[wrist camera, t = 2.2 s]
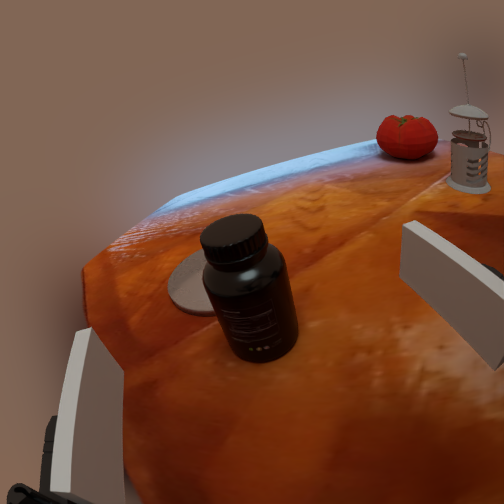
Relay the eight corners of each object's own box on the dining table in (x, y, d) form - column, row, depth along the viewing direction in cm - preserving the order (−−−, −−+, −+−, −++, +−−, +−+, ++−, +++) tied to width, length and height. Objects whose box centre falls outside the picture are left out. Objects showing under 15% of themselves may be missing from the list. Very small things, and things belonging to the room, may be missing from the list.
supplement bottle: (231, 317, 32) (195, 216, 25) (295, 307, 31) (274, 200, 25) (227, 369, 26) (177, 261, 20) (303, 359, 25) (280, 241, 19)
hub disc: (259, 236, 45) (257, 229, 44) (293, 290, 33) (292, 281, 32) (170, 266, 44) (167, 260, 43) (173, 331, 32) (169, 323, 31)
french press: (436, 180, 49) (425, 50, 36) (469, 170, 50) (463, 55, 37) (472, 198, 40) (466, 51, 28) (503, 186, 41) (501, 58, 28)
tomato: (447, 155, 59) (446, 116, 54) (412, 170, 55) (410, 124, 50) (404, 144, 71) (401, 110, 66) (366, 157, 67) (361, 118, 62)
